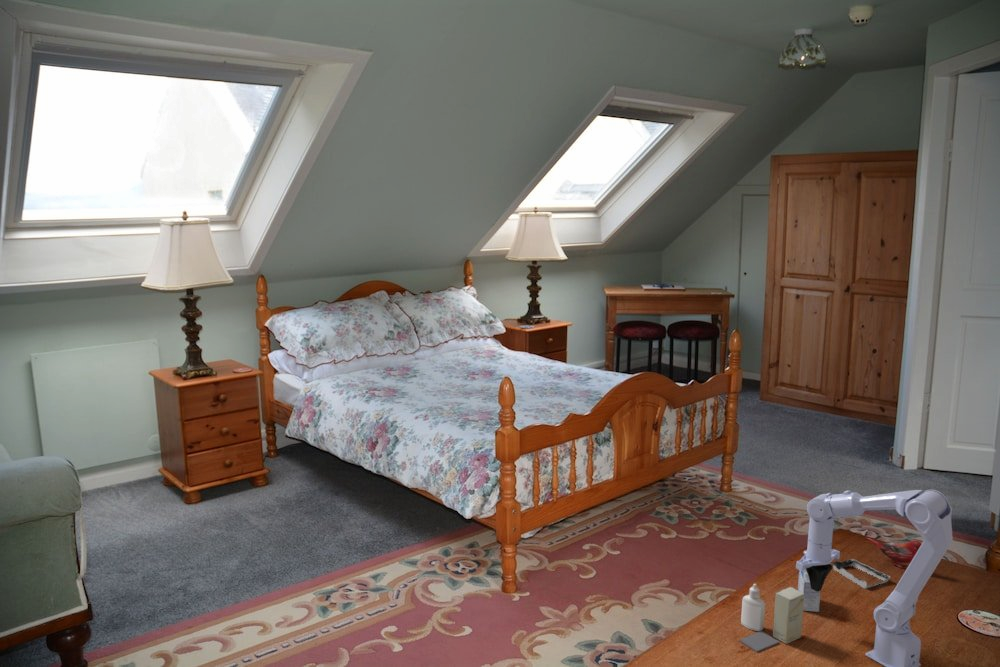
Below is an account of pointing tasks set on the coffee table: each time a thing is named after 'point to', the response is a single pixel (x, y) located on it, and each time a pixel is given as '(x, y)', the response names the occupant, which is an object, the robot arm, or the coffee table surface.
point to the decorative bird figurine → (899, 551)
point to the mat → (759, 641)
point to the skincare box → (788, 615)
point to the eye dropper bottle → (753, 610)
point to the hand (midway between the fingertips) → (815, 589)
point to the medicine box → (808, 593)
